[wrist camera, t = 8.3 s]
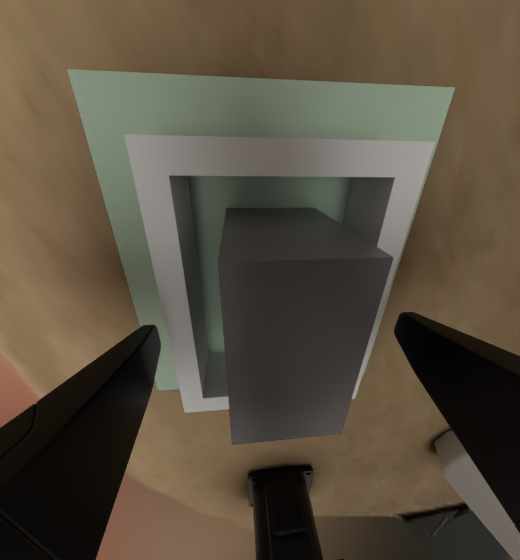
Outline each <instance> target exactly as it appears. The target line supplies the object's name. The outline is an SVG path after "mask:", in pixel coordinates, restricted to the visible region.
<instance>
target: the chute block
mask: <svg viewBox="0 0 520 560" xmlns="http://www.w3.org/2000/svg"><path fill="white" fill-rule="evenodd" d="M393 258H394V257H393V256H391V255H389V254H388V253H386V252H385V251H383V250H381V249H380V248H378V247H377V246H375V245H373V244H372V243H370V242H369V241H367V240H366V239H364V238H362V237H361V236H359V235H358V234H356V233H354V232H353V231H351V230H350V229H348V228H346V227H345V226H343V225H342V224H340V223H338V222H337V221H335V220H334V219H332V218H331V217H329V216H327V215H326V214H324V213H323V212H321V211H319V210H318V209H316V208H226V212H225V218H224V225H223V231H222V238H221V244H220V250H219V257H218V273H219V286H220V299H221V311H222V324H223V336H224V349H225V362H226V374H227V387H228V399H229V412H230V425H231V437H232V445H233V444H243V443H254V442H264V441H274V440H284V439H294V438H304V437H314V436H324V435H334V434H341V433H342V429H343V426H344V423H345V419H346V416H347V413H348V409H349V406H350V402H351V399H352V396H353V392H354V389H355V386H356V382H357V379H358V376H359V372H360V369H361V366H362V362H363V359H364V355H365V352H366V349H367V345H368V342H369V339H370V335H371V332H372V329H373V325H374V322H375V319H376V315H377V312H378V308H379V305H380V302H381V298H382V295H383V292H384V288H385V285H386V282H387V278H388V275H389V272H390V268H391V265H392V261H393Z"/></svg>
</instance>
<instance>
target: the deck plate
mask: <svg viewBox="0 0 520 560" xmlns="http://www.w3.org/2000/svg"><path fill="white" fill-rule="evenodd" d="M67 71H68V74H69V78H70V82H71V85H72V89H73V92H74V96H75V99H76V103H77V106H78V110H79V113H80V117H81V120H82V124H83V127H84V131H85V134H86V138H87V142H88V145H89V149H90V152H91V156H92V159H93V163H94V166H95V170H96V173H97V177H98V180H99V184H100V187H101V191H102V195H103V198H104V202H105V205H106V209H107V212H108V216H109V219H110V223H111V226H112V230H113V233H114V237H115V240H116V244H117V248H118V251H119V255H120V258H121V262H122V265H123V269H124V272H125V276H126V279H127V283H128V286H129V290H130V293H131V297H132V301H133V304H134V308H135V311H136V315H137V318H138V322H139V325H140V327H141V326H143V325H156V326H157V329H158V333H159V337H160V341H161V351H160V356H159V360H158V365H157V370H156V374H155V382H156V385H157V389H158V391H161V390H175V389H180V393H181V398H182V403H183V407H184V412H185V413H189V412H201V411H213V410H225V409H229V399H228V387H227V374H226V362H225V349H224V336H223V324H222V311H221V299H220V286H219V273H218V257H219V250H220V244H221V238H222V231H223V225H224V218H225V212H226V208H316V209H318V210H319V211H321V212H323V213H324V214H326V215H327V216H329V217H331V218H332V219H334V220H335V221H337V222H338V223H340V224H342V225H343V226H345V227H346V228H348V229H350V230H351V231H353V232H354V233H356V234H358V235H359V236H361V237H362V238H364V239H366V240H367V241H369V242H370V243H372V244H373V245H375V246H377V247H378V248H380V249H381V250H383V251H385V252H386V253H388V254H389V255H391V256H393V257H394V258H393V261H392V265H391V268H390V272H389V275H388V278H387V282H386V285H385V288H384V292H383V295H382V298H381V302H380V305H379V308H378V312H377V315H376V319H375V322H374V325H373V329H372V332H371V335H370V339H369V342H368V345H367V349H366V352H365V355H364V359H363V362H362V366H361V369H360V372H359V376H358V379H357V382H356V386H355V389H354V392H353V396H352V399H355V397H356V394H357V391H358V388H359V384H360V381H361V378H362V376H364V373H365V370H366V367H367V364H368V361H369V358H370V355H371V351H372V348H373V345H374V342H375V339H376V336H377V332H378V329H379V326H380V323H381V320H382V317H383V314H384V310H385V307H386V304H387V301H388V298H389V295H390V291H391V288H392V285H393V282H394V279H395V276H396V273H397V269H398V266H399V263H400V260H401V257H402V254H403V250H404V247H405V244H406V241H407V238H408V235H409V232H410V228H411V225H412V222H413V219H414V216H415V213H416V209H417V206H418V203H419V200H420V197H421V194H422V191H423V187H424V184H425V181H426V178H427V175H428V172H429V168H430V165H431V162H432V159H433V156H434V153H435V150H436V146H437V143H438V140H439V137H440V134H441V131H442V127H443V124H444V121H445V118H446V115H447V112H448V109H449V105H450V102H451V99H452V96H453V93H454V90H455V88H454V87H433V86H412V85H391V84H370V83H349V82H328V81H307V80H286V79H265V78H244V77H223V76H202V75H181V74H160V73H139V72H118V71H97V70H76V69H67Z"/></svg>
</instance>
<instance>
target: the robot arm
mask: <svg viewBox="0 0 520 560" xmlns="http://www.w3.org/2000/svg"><path fill="white" fill-rule="evenodd" d="M394 334H395V337H396V339H397V341H398V342H399V344H400V346H401V348H402V350H403V352H404V354H405V356H406V358H407V359H408V361H409V363H410V365H411V367H412V369H413V370H414V372H415V374H416V375H417V377H418V379H419V380H420V382H421V383H422V385H423V386H424V388H425V389H426V391H427V392H428V394H429V395H430V397H431V398H432V400H433V401H434V403H435V405H436V406H437V408H438V409H439V411H440V412H441V414H442V415H443V417H444V418H445V420H446V421H447V423H448V424H449V426H450V427H451V429H452V430H453V432H454V434H455V435H456V437H457V438H458V440H459V441H460V443H461V444H462V446H463V447H464V449H465V450H466V452H467V453H468V455H469V456H470V458H471V460H472V461H473V463H474V464H475V466H476V467H477V469H478V470H479V472H480V473H481V475H482V476H483V478H484V479H485V481H486V482H487V484H488V485H489V487H490V489H491V490H492V492H493V493H494V495H495V496H496V498H497V499H498V501H499V502H500V504H501V505H502V507H503V508H504V510H505V511H506V513H507V514H508V516H509V518H510V519H511V521H512V522H513V523H514V524H515V527H516V529H517V530H518V532H519V533H520V356H518V355H516V354H513V353H511V352H508V351H506V350H504V349H501V348H499V347H496V346H494V345H491V344H489V343H487V342H484V341H482V340H479V339H477V338H475V337H472V336H470V335H467V334H465V333H462V332H460V331H458V330H455V329H453V328H450V327H448V326H445V325H443V324H441V323H438V322H436V321H433V320H431V319H429V318H426V317H424V316H421V315H419V314H416V313H414V312H403V313H401V314H400V315H399V317H398V320H397V323H396V326H395V328H394ZM160 351H161V341H160V337H159V333H158V329H157V326H156V325H143V326H141V327H140V328H138V329H137V330H136V331H134V332H133V333H132V334H130V335H129V336H127V337H126V338H125V339H123V340H122V341H120V342H119V343H118V344H116V345H115V346H114V347H112V348H111V349H109V350H108V351H107V352H105V353H104V354H102V355H101V356H100V357H98V358H97V359H96V360H94V361H93V362H91V363H90V364H89V365H87V366H86V367H84V368H83V369H82V370H80V371H79V372H78V373H76V374H75V375H73V376H72V377H71V378H69V379H68V380H66V381H65V382H64V383H62V384H61V385H59V386H58V387H57V388H55V389H54V390H53V391H51V392H50V393H48V394H47V395H46V396H44V397H43V398H41V399H40V400H39V401H37V403H36V404H34V405H32V406H30V407H29V408H28V409H26V410H25V411H24V412H22V413H21V414H19V415H18V416H16V417H15V418H14V419H12V420H11V421H9V422H8V423H6V424H5V425H4V426H2V427H1V428H0V560H96V556H97V554H98V551H99V547H100V544H101V541H102V539H103V536H104V533H105V530H106V527H107V524H108V520H109V518H110V515H111V512H112V509H113V506H114V503H115V500H116V497H117V493H118V491H119V488H120V485H121V482H122V479H123V476H124V473H125V470H126V467H127V464H128V461H129V458H130V455H131V452H132V449H133V446H134V443H135V440H136V437H137V434H138V431H139V428H140V425H141V422H142V419H143V416H144V413H145V410H146V407H147V404H148V401H149V398H150V395H151V392H152V388H153V384H154V379H155V374H156V370H157V365H158V360H159V356H160ZM312 477H313V468H312V467H311V466H306V467H297V468H288V469H279V470H269V471H260V472H252V473H249V474H248V499H249V506H251V507H253V513H254V531H255V550H256V560H323V555H322V551H321V546H320V542H319V538H318V533H317V528H316V524H315V520H314V515H313V510H312V506H311V501H310V497H309V490H310V486H311V482H312ZM338 560H344V559H338Z"/></svg>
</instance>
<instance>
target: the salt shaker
mask: <svg viewBox="0 0 520 560" xmlns="http://www.w3.org/2000/svg"><path fill="white" fill-rule="evenodd" d="M434 443H435V446H436V451H437V455H438V460H439V465H440V469H441V472H442V474H443V476H444V478H445V479H446V480H447V481H448V483H449V484H450V485H451V486H452V487H453V488H454V490H455V491H456V492H457V493H458V494H459V495H460V497H461V498H462V499H463V500H464V501H465V502H466V504H467V505H468V506H469V507H470V508H471V509H472V511H473V512H474V513H475V514H476V515H477V516H478V518H479V519H480V520H481V521H482V522H483V524H484V525H485V526H486V527H487V528H488V529H489V530H490V532H491V533H492V534H493V535H494V537H495V538H496V539H497V540H498V541H499V543H500V544H501V545H502V546H503V547H504V548H505V550H506V551H507V552H508V553H509V554H510V556H511V557H512V558H513V559H514V560H520V533H519V532H518V530H517V529H516V527H515V524H514V523H513V522H512V521H511V519H510V518H509V516H508V514H507V513H506V511H505V510H504V508H503V507H502V505H501V504H500V502H499V501H498V499H497V498H496V496H495V495H494V493H493V492H492V490H491V489H490V487H489V485H488V484H487V482H486V481H485V479H484V478H483V476H482V475H481V473H480V472H479V470H478V469H477V467H476V466H475V464H474V463H473V461H472V460H471V458H470V456H469V455H468V453H467V452H466V450H465V449H464V447H463V446H462V444H461V443H460V441H459V440H458V438H457V437H456V435H455V434H454V432H453V430H452V431H448V432H446V433H445V434H443V435H442V436H441V437H440V438H439V439H437V440H436V441H435V442H434Z"/></svg>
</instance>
